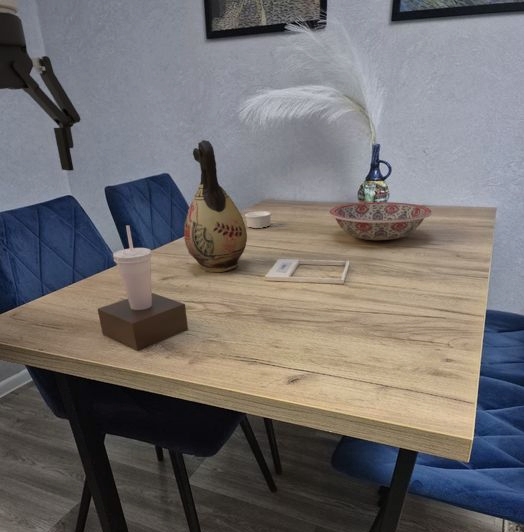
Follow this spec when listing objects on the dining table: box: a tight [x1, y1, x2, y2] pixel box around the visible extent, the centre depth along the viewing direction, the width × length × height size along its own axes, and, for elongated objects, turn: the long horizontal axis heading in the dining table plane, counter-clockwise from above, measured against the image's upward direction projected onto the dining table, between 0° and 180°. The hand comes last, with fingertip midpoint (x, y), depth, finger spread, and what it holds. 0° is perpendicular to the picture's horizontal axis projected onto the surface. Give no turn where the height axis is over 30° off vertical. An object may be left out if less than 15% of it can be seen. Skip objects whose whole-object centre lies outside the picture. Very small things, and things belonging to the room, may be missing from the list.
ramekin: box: [244, 211, 272, 228], centre depth 161 cm, size 9×9×4 cm
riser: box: [97, 292, 189, 352], centre depth 85 cm, size 11×11×5 cm
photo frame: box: [264, 258, 351, 285], centre depth 113 cm, size 15×1×18 cm
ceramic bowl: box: [328, 201, 433, 241], centre depth 139 cm, size 29×29×8 cm
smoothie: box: [112, 225, 153, 310], centre depth 80 cm, size 6×6×14 cm
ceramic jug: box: [183, 139, 248, 273], centre depth 113 cm, size 17×15×30 cm
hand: (27, 174), depth 76 cm, fingers open, 13 cm apart
